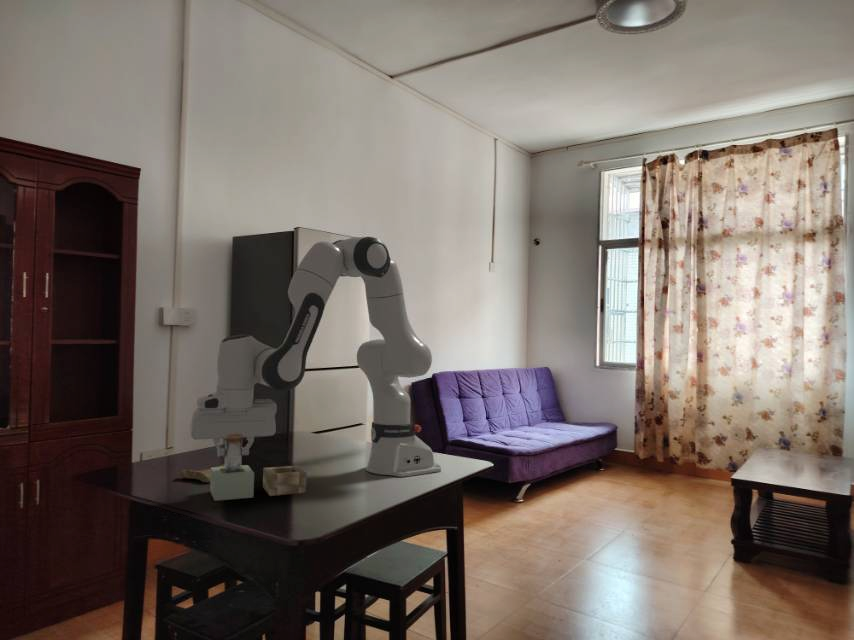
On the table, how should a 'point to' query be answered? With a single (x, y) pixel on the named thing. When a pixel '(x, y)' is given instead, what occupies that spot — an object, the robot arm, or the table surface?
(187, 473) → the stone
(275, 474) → the mount block
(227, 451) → the pin
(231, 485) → the socket block
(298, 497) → the table surface
